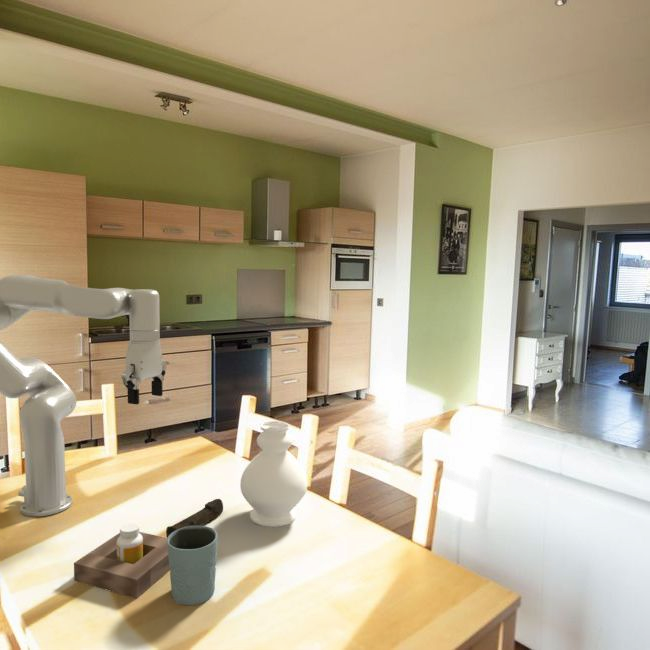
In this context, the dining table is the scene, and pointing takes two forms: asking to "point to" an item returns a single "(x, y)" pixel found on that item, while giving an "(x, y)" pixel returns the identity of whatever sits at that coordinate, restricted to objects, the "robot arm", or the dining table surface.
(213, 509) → the hand tool
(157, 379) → the robot arm
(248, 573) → the dining table surface
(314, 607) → the dining table surface
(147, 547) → the collar block
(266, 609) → the dining table surface
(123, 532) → the supplement bottle
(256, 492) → the decorative vase
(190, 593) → the blue grey cup
